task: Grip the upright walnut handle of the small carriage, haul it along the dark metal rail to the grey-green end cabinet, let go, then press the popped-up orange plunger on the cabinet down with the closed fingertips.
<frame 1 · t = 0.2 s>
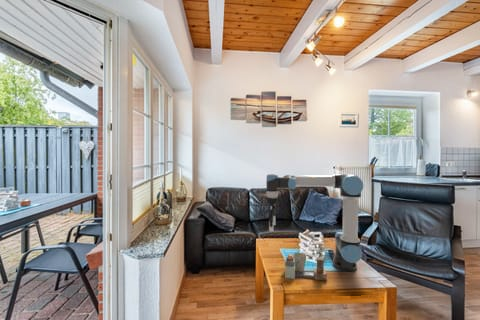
hand: (272, 228, 155), 28 cm above the table, fingers open, 13 cm apart
rail: (310, 276, 144), on the table
mug: (296, 269, 153), on the table
cabinet: (289, 274, 147), on the table
carriage: (320, 268, 143), point 6 cm above the table, slide at 0.0 cm
plunger: (289, 257, 147), point 11 cm above the table, slide at 0.0 cm
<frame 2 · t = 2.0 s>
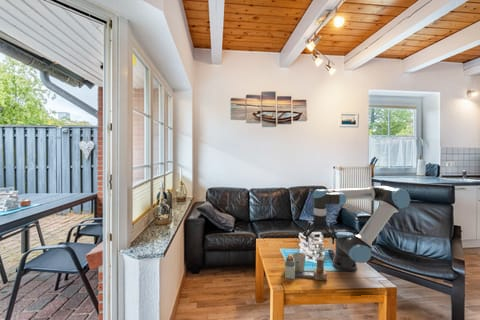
hand: (319, 248, 142), 19 cm above the table, fingers open, 13 cm apart
nothing on the table moved.
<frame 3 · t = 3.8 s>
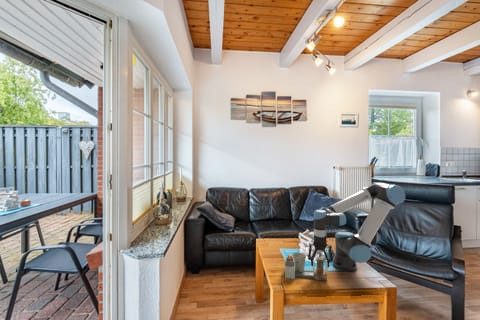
hand: (320, 271, 143), 4 cm above the table, fingers closed on carriage, 7 cm apart
carriage: (320, 268, 143), point 6 cm above the table, slide at 0.0 cm, touching gripper
everything else where it was.
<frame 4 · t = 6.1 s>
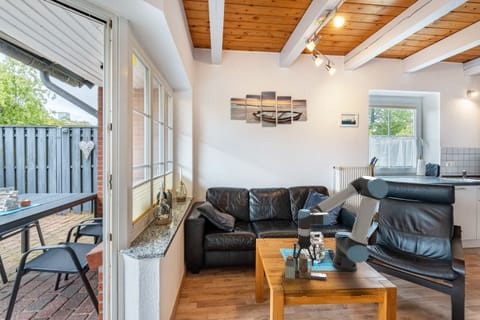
hand: (304, 269, 145), 4 cm above the table, fingers closed on carriage, 7 cm apart
carriage: (304, 266, 145), point 6 cm above the table, slide at 9.3 cm, touching gripper
everything else where it was.
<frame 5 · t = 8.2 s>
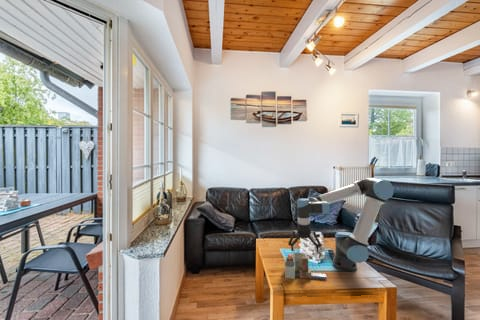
hand: (304, 256, 145), 13 cm above the table, fingers open, 13 cm apart
carriage: (305, 266, 145), point 6 cm above the table, slide at 9.1 cm
everything else where it was.
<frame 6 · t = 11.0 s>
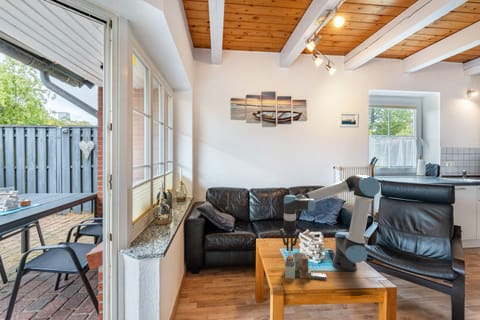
hand: (289, 255, 147), 12 cm above the table, fingers closed
plunger: (289, 258, 147), point 11 cm above the table, slide at 0.6 cm, touching gripper
everything else where it was.
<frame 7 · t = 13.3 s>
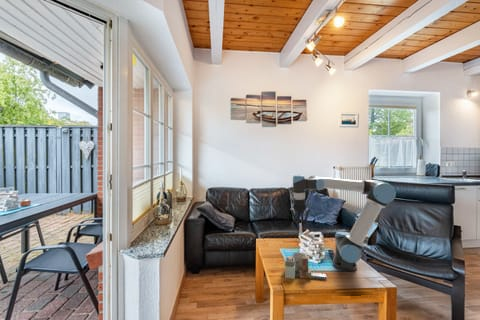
hand: (300, 233, 152), 25 cm above the table, fingers closed
plunger: (289, 260, 147), point 9 cm above the table, slide at 2.1 cm
everything else where it was.
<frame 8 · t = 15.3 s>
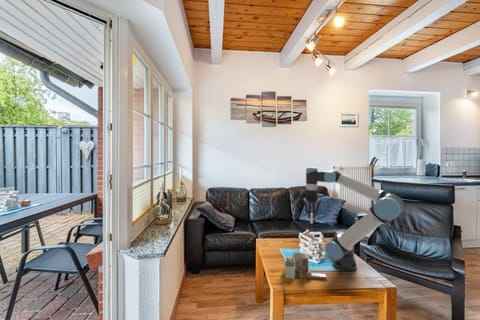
hand: (311, 222, 160), 29 cm above the table, fingers closed
nothing on the table moved.
at the end: carriage slide at 9.1 cm; plunger slide at 2.1 cm; the gripper is holding nothing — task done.
